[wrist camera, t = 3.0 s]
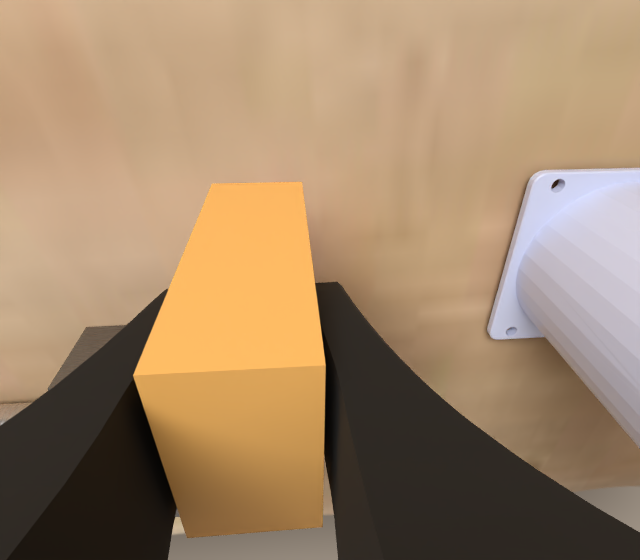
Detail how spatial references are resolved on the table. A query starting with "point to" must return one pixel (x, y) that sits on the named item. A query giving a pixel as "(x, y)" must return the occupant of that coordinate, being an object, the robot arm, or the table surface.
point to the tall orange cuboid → (241, 368)
